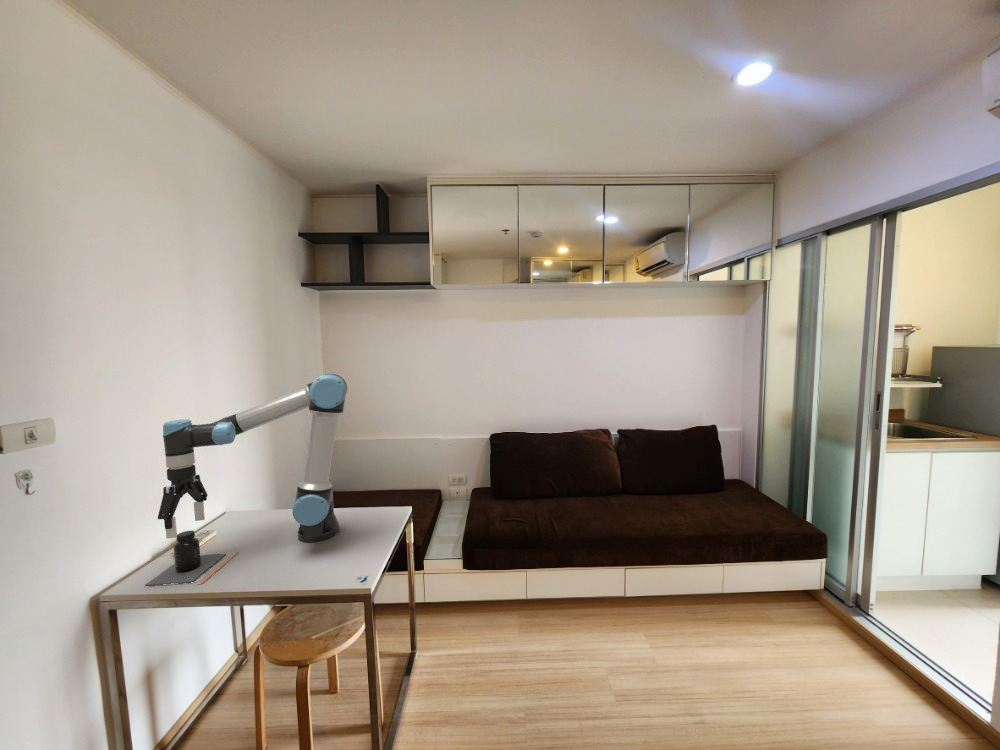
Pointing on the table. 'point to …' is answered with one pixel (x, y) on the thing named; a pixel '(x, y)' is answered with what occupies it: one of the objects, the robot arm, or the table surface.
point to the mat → (186, 577)
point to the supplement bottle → (187, 552)
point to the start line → (218, 567)
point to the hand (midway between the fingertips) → (186, 528)
